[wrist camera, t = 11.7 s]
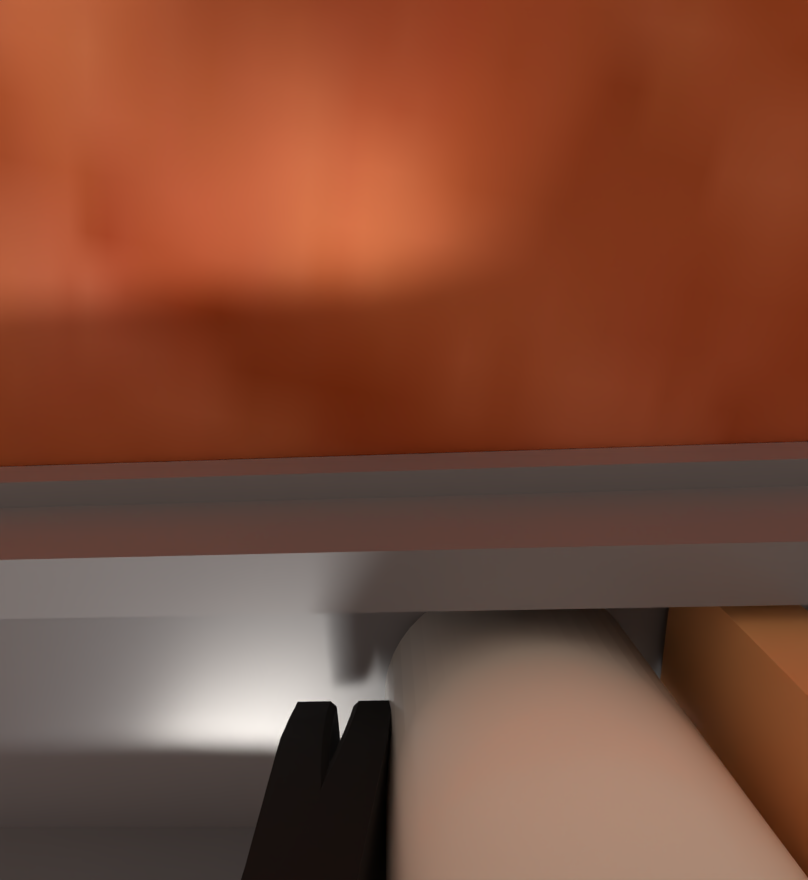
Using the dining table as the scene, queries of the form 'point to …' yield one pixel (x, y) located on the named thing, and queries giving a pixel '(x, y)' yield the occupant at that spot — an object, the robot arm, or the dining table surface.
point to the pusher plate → (749, 702)
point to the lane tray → (315, 611)
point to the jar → (555, 760)
